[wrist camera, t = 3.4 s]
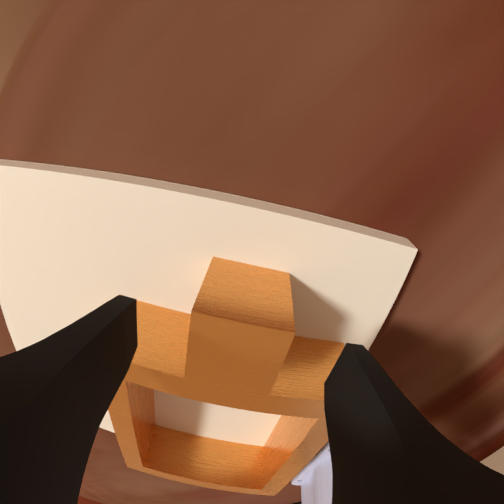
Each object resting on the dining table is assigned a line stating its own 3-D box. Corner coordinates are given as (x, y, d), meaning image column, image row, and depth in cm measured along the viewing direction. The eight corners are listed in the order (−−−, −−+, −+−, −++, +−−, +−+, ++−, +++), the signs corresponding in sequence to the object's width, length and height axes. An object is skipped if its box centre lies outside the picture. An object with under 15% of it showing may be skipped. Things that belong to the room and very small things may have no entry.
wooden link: (275, 454, 18) (274, 495, 15) (140, 427, 17) (127, 466, 14) (368, 289, 12) (397, 347, 8) (129, 237, 11) (84, 281, 8)
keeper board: (283, 457, 20) (283, 529, 14) (43, 389, 19) (10, 444, 13) (406, 238, 12) (498, 341, 5) (-7, 158, 11) (-101, 196, 5)
